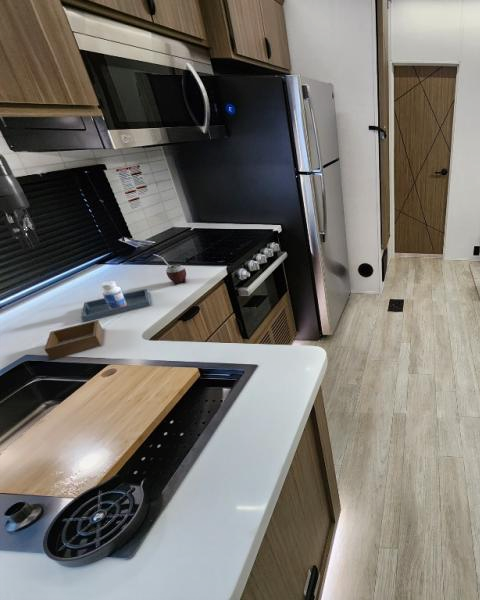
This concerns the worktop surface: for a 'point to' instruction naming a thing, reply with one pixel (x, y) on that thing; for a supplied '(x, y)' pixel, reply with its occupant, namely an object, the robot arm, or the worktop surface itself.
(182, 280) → the mate gourd
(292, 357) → the worktop surface
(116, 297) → the pill bottle
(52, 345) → the basket
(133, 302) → the tray
